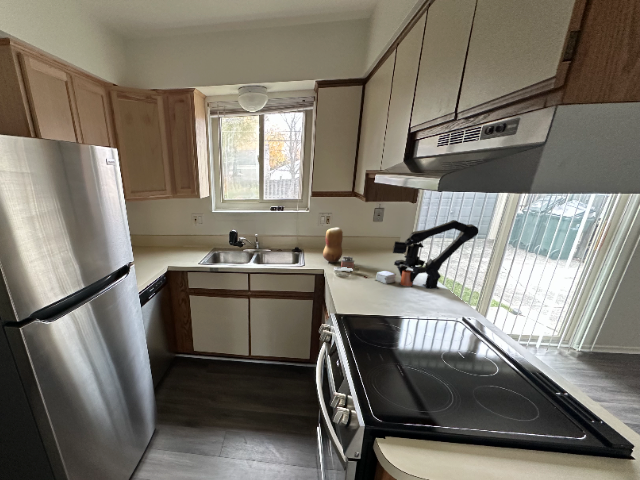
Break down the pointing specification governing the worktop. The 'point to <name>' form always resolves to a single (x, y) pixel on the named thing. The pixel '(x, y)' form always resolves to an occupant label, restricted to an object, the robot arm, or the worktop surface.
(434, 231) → the robot arm
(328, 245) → the butternut squash
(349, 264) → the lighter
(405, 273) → the cup
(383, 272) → the small box
